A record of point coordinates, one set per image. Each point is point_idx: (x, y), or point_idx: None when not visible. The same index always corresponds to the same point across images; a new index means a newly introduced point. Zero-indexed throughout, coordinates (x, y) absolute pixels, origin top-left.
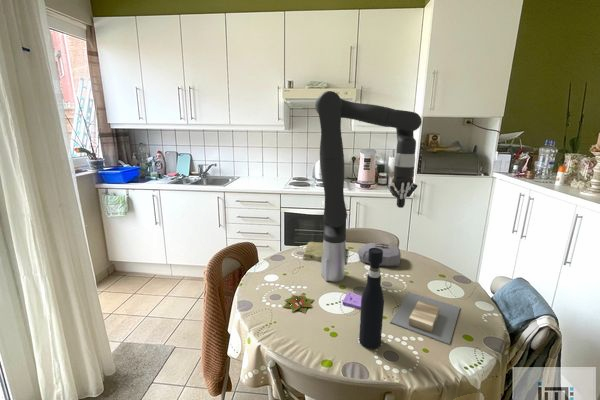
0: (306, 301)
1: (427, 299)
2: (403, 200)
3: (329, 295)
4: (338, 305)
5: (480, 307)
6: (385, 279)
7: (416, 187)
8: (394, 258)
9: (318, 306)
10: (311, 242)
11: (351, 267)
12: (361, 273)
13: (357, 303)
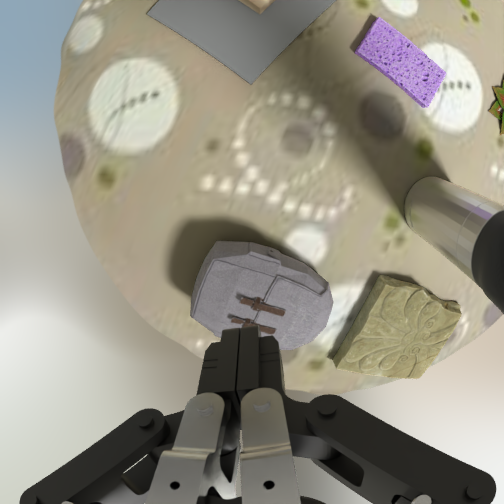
0: (499, 112)
1: (213, 44)
2: (224, 377)
3: (459, 118)
4: (449, 73)
5: (97, 25)
6: (291, 166)
7: (34, 487)
8: (231, 250)
9: (483, 86)
10: (417, 374)
11: (365, 252)
12: (350, 212)
13: (415, 55)
